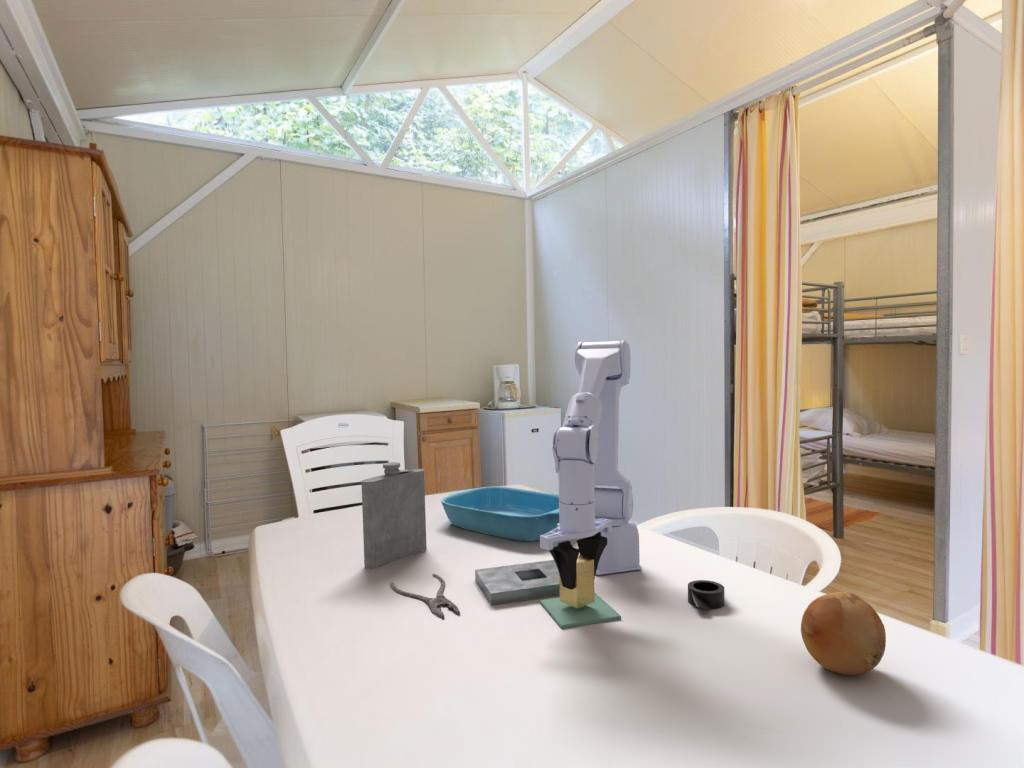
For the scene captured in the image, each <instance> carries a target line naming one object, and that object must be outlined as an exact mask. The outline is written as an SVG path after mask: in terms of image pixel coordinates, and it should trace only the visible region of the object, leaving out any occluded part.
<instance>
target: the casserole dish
mask: <svg viewBox="0 0 1024 768" xmlns="http://www.w3.org/2000/svg"><path fill="white" fill-rule="evenodd" d="M440 502H441V505H442V507H443V509H444V512H445V515H446V517H447V518H448V521H449V522H450V523H452V525H454V526H455V527H458V528H461V529H463V530H467V529H468V530H469V531H471V530H472V532H476V533H481V534H484V533H485V534H484V535H489V536H493V535H494V536H493V537H498V538H503V539H508V540H513V541H520V542H536V541H540V535H544V534H546V533H548V532H550V531H552V530H554V529H555V528H557V524H558V523H559V494H554V493H548V492H542V491H541V492H540V491H535V490H529V489H523V488H515V487H507V486H498V485H496V486H483V487H478V488H471V489H468V488H467V489H462V490H459V491H455V492H451V493H449V494H448V495H447V496H445V497H443V498H442V499H441V500H440Z"/></svg>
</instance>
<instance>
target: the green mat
mask: <svg viewBox="0 0 1024 768" xmlns="http://www.w3.org/2000/svg"><path fill="white" fill-rule="evenodd" d="M539 604H540V605H541V606H542V607H543V609H545V611H546V612H547V613H548V615H549V616H550V617H551V618H552V619H553V620H554V622H555V623H556V625H558V626H559V628H560V629H566V628H572V627H578V626H585V625H592V624H596V623H597V624H598V623H604V622H605V623H606V622H610V621H616V620H621V619H622V615H621V614H620V613H619V612H618V611H616V610H615V609H614V608H613V607H611V605H610V604H608V603H607V602H606V601H605V600H603V598H602V597H601V596H599V595H598V593H596V592H595V602H593V603H590V604H588V605H585V606H583V607H580V608H578V609H577V608H574V607H572V606H570V605H568V604H565V603H563V602H561V601H560V596H559V597H552V598H546V599H545V598H544V599H540V600H539Z"/></svg>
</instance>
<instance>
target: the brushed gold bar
mask: <svg viewBox="0 0 1024 768" xmlns="http://www.w3.org/2000/svg"><path fill="white" fill-rule="evenodd" d="M559 585H560V595H559V597H560V601H561V602H563V603H565V604H568V605H570V606H572V607H574V608H577V609H578V608H580V607H583V606H585V605H588V604H590V603H593V602H595V593H596V592H595V579H594V559H592V558H589V557H586V556H583V555H580V553H579V555H578V559H577V563H576V572H575V586H574V589H572V590H570V589H568V588H565V587H563V586H562V582H561V578H560V574H559Z"/></svg>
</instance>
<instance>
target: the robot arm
mask: <svg viewBox="0 0 1024 768" xmlns="http://www.w3.org/2000/svg"><path fill="white" fill-rule="evenodd" d="M629 344H630V343H628V341H627V340H625V339H623V340H617V341H616V340H615V341H588V342H584V341H579V342H578V344H577V345H576V346H575V351H574V363H575V369H576V371H577V373H578V375H579V376H580V380H579V386H578V387H579V388H578V391H577V392H578V393H576V394H574V395H573V396H571V398H570V399H569V402H568V406H567V409H566V412H565V413H566V414H565V415H564V420H563V423H562V426H560V428H559V429H556V430H555V431H554V433H553V438H552V446H551V447H552V456H553V459H554V465H555V466H554V468H555V469H554V470H555V473H557V475H558V477H557V478H558V495H559V523H558V524H557V528H555V529H554V530H552V531H550V532H548V533H546V534H544V535H540V540H539V547H540V549H542V550H546V551H548V552H549V553H550V555H551V557H552V560H554V561H555V563H556V565H557V568H558V571H559V574H560V578H561V582H562V586H563V587H565V588H568V589H570V590H572V589H574V586H575V572H576V563H577V559H578V555H579V554H580V555H583V556H586V557H589V558H592V559H594V580H595V578H596V576H602V575H608V574H610V575H611V574H616V573H623V572H624V573H625V572H630V571H631V572H632V571H637V570H638V571H639V570H642V566H641V565H640V564H641V563H640V533H639V529H638V526H637V524H636V523H635V521H634V520H632V518H633V513H634V495H633V484H632V482H631V480H630V479H628V477H626V475H625V476H624V474H622V473H621V472H620V471H619V427H620V425H619V422H620V420H619V418H620V416H619V415H620V413H619V412H620V395H621V391H622V387H624V386H626V385H628V384H630V379H631V350H630V345H629ZM595 486H603V487H595ZM604 486H605V487H604ZM610 487H616V488H610ZM573 542H576V544H577V547H575V546H573V544H571V543H573Z"/></svg>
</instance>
